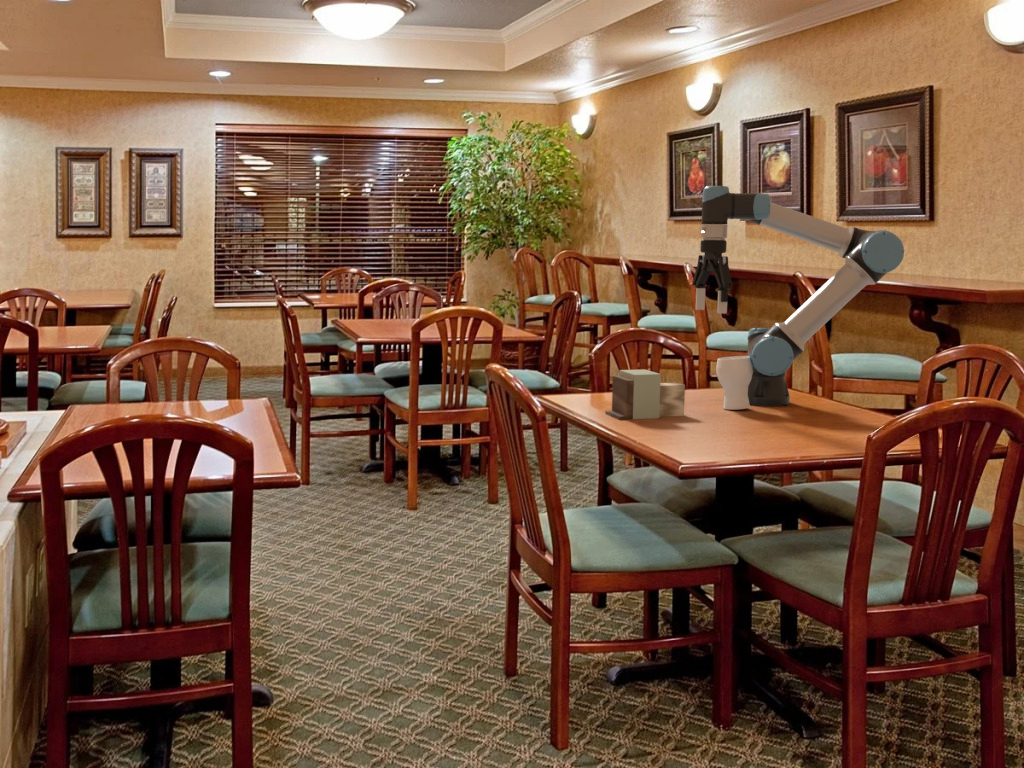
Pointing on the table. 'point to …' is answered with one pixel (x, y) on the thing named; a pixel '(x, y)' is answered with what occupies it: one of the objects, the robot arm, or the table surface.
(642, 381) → the block
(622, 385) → the wall
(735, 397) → the cup
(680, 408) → the peg
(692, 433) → the table surface
